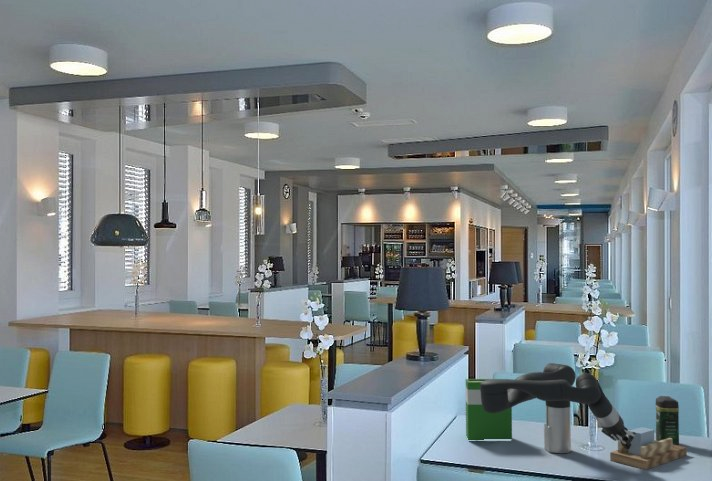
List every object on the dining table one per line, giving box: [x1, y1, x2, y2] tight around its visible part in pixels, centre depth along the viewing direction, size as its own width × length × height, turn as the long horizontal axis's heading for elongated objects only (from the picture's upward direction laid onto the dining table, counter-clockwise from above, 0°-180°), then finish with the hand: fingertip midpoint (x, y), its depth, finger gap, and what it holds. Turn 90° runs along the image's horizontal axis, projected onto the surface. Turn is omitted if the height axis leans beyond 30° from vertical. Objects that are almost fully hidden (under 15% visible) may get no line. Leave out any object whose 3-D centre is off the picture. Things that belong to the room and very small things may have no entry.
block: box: [628, 426, 655, 456], centre depth 257 cm, size 9×5×8 cm, turn 127°
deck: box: [609, 438, 688, 471], centre depth 260 cm, size 28×14×7 cm, turn 127°
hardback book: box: [465, 378, 513, 441], centre depth 288 cm, size 18×7×24 cm, turn 88°
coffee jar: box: [655, 395, 680, 446], centre depth 279 cm, size 10×8×19 cm
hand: (628, 446), depth 252 cm, fingers closed
